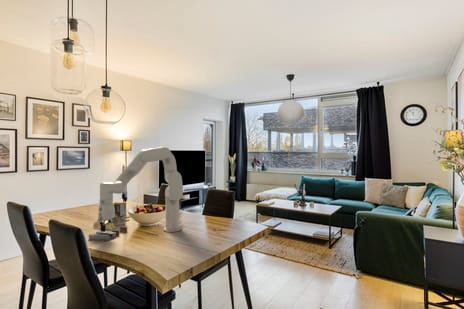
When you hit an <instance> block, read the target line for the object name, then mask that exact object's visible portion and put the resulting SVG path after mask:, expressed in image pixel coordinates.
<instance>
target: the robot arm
mask: <svg viewBox="0 0 464 309" xmlns="http://www.w3.org/2000/svg"><path fill="white" fill-rule="evenodd" d="M157 161H162V164H163V168H164V180H165V181H166V183H167V184H168V186H167V187H166V188H165V192H164V201H165V226H164V227H163V231H164V232H166V233H175V232H178V231H181V230H182V226H181V224H182V221H181V220H180V201H181V199H182V198H183V196H184V194H183V193H184V190H183V179H182V178H183V176H182V175H181V173H180V172H179V171H178V170H177V168H178V166H177V162H176V158H175V156H174V154H173V153H172V152H171V150H170V148H168V147H166V146H159V147H155V148H154V147H153V148H148V149H147V148H146V149H145V148H144V149H141V150H140V151H138V153H137V154H136V156H135V157H134V158H133V159H132V161H130V163H129V164H128V165H127V167H125V169H124V170H123V171H122V172H121V174H119V176H118V177H117V178H116V180H115V181H113V182H111V181H103V182H101V183H100V184H99V206H98V211H97V212H98V213H97V220H96V222H98V223H99V224H100V225H101V230H100V231H102V232H105V222H106V223H112V222H113V219H114V217H115V207H114V203H115V202H114V194H117V195H119V194H124V193H125V192H126V190H127V185H128V183H129V182H130V181H131V180H132V179H134V178H135V177H136V176H137V175H139V174H140V173H141V172H142V170H143V169H144V168H145V166H146V165H147V164H148V163H150V162H153V163H154V162H157Z"/></svg>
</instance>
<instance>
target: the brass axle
mask: <svg viewBox="0 0 464 309" xmlns="http://www.w3.org/2000/svg"><path fill="white" fill-rule="evenodd" d="M92 228H93V230H96V231H101V225H100V224H99V223H98V222H97V221H95V222H94V223H93V227H92ZM115 228H116V225H114V223H107V221H105V231H108V232H112V231H113V230H115Z"/></svg>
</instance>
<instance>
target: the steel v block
mask: <svg viewBox="0 0 464 309" xmlns="http://www.w3.org/2000/svg"><path fill="white" fill-rule="evenodd" d="M114 238H117V236H116V232H112V231H105V232H102V231H101V230H96V232H95V233H90V234H88V240H89V241H97V242H98V241H99V242H108V241H111V240H112V239H114Z"/></svg>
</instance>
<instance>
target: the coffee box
mask: <svg viewBox="0 0 464 309" xmlns="http://www.w3.org/2000/svg"><path fill="white" fill-rule="evenodd" d="M113 203H114V207H115V217H114V219H113V222H112V223H114V225H115V226H117V227H118V226H119V227H120V226H124V225H125V224H126V222H127V220H126V210H127V209H126V202H113Z"/></svg>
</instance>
